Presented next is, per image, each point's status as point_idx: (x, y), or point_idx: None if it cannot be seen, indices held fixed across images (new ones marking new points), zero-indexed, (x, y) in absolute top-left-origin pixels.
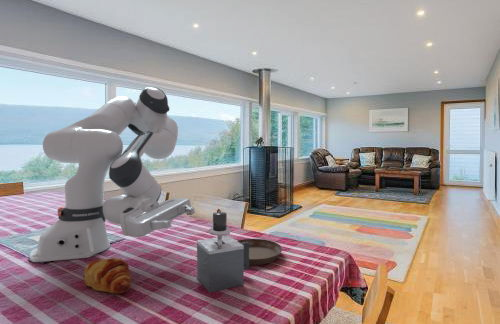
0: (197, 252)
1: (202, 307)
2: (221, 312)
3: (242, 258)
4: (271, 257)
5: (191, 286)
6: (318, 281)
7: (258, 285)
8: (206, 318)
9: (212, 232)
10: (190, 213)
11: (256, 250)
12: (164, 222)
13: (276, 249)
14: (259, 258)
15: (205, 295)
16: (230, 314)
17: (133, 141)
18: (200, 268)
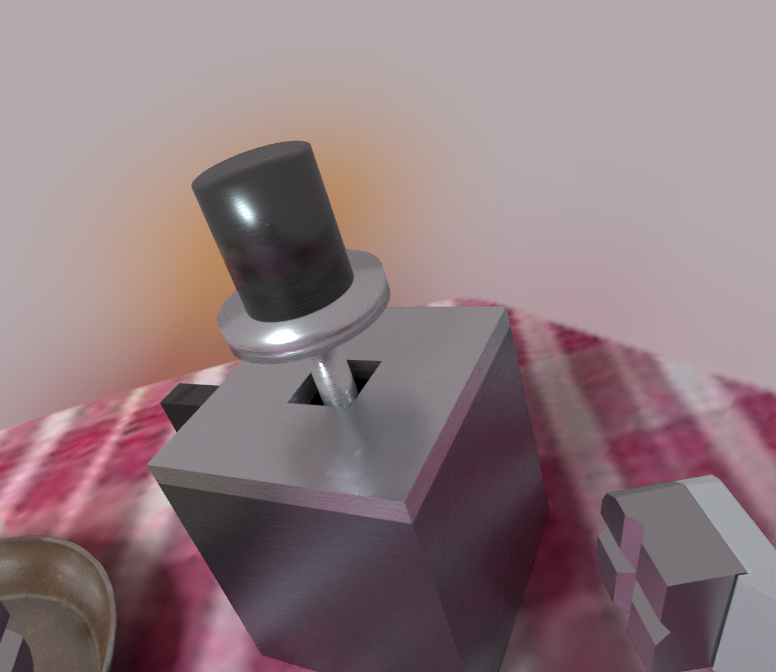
0: (437, 571)
1: (657, 427)
2: (605, 374)
3: None
4: (43, 539)
5: (593, 632)
6: (174, 382)
7: None
8: (682, 368)
9: (384, 276)
10: (21, 662)
11: None
12: (737, 503)
13: None
14: (89, 556)
15: (582, 499)
16: (583, 356)
17: None
18: (488, 578)
